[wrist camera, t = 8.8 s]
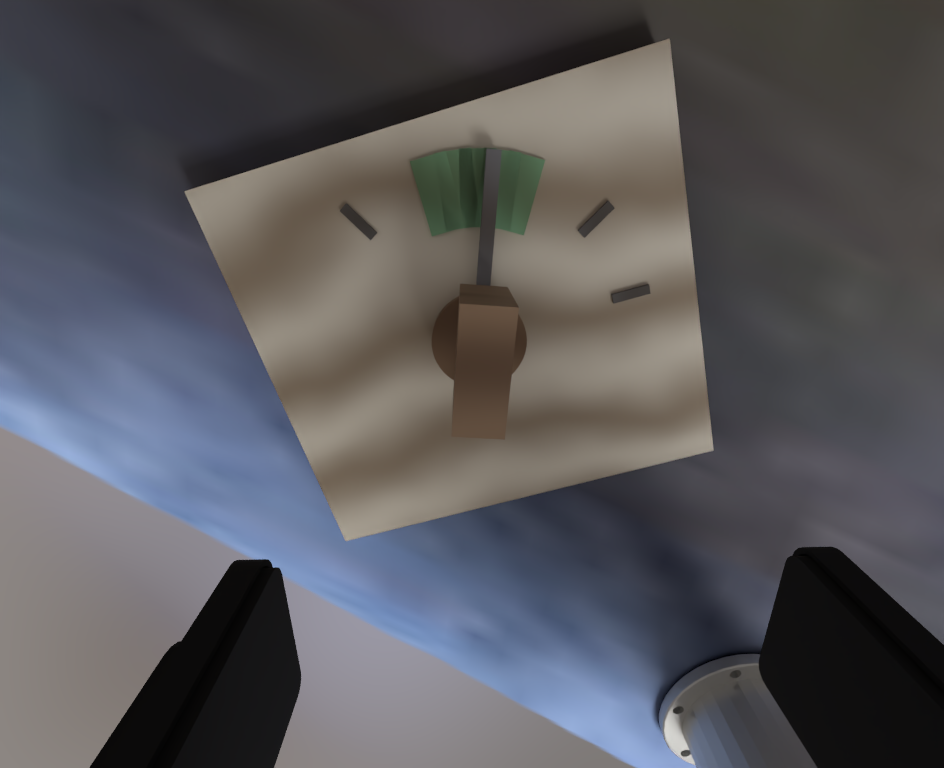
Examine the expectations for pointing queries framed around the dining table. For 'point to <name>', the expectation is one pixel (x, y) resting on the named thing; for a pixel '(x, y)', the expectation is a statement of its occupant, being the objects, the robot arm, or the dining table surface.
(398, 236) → the dial plate
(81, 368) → the dining table surface
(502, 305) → the dial pointer knob
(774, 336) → the dining table surface
